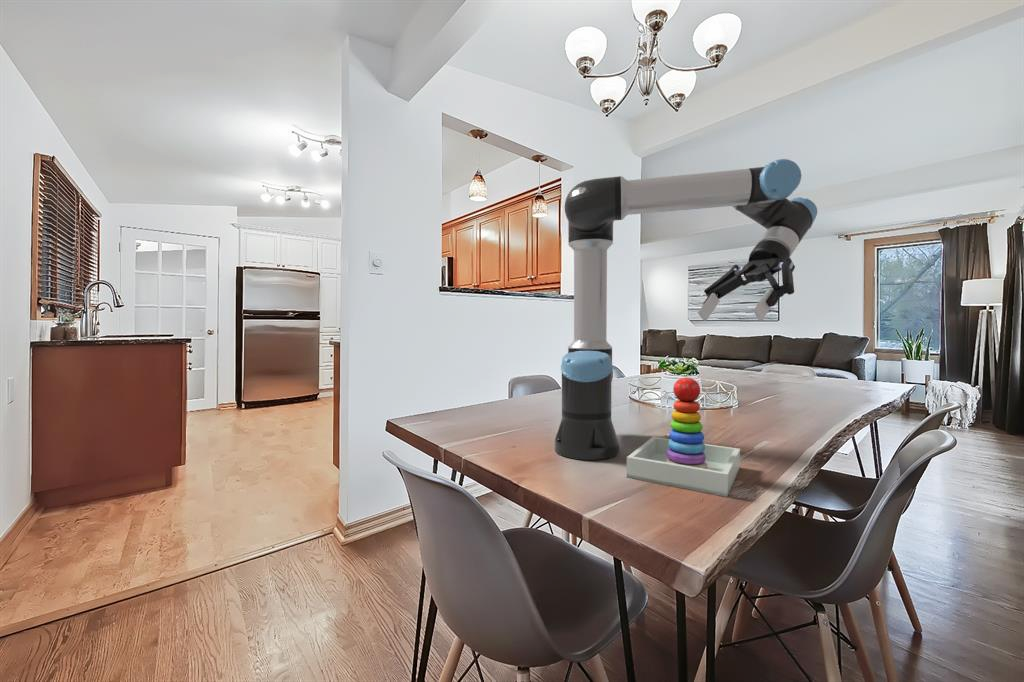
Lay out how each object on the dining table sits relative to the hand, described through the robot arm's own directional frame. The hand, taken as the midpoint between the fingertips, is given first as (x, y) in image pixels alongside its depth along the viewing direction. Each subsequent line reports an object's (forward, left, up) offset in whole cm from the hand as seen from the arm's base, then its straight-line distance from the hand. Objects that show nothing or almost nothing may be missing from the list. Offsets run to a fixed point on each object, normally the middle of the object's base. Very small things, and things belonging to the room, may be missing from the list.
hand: (727, 316), depth 94 cm
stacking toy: (-6, -13, -31) cm, 34 cm away
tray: (-6, -13, -32) cm, 35 cm away
